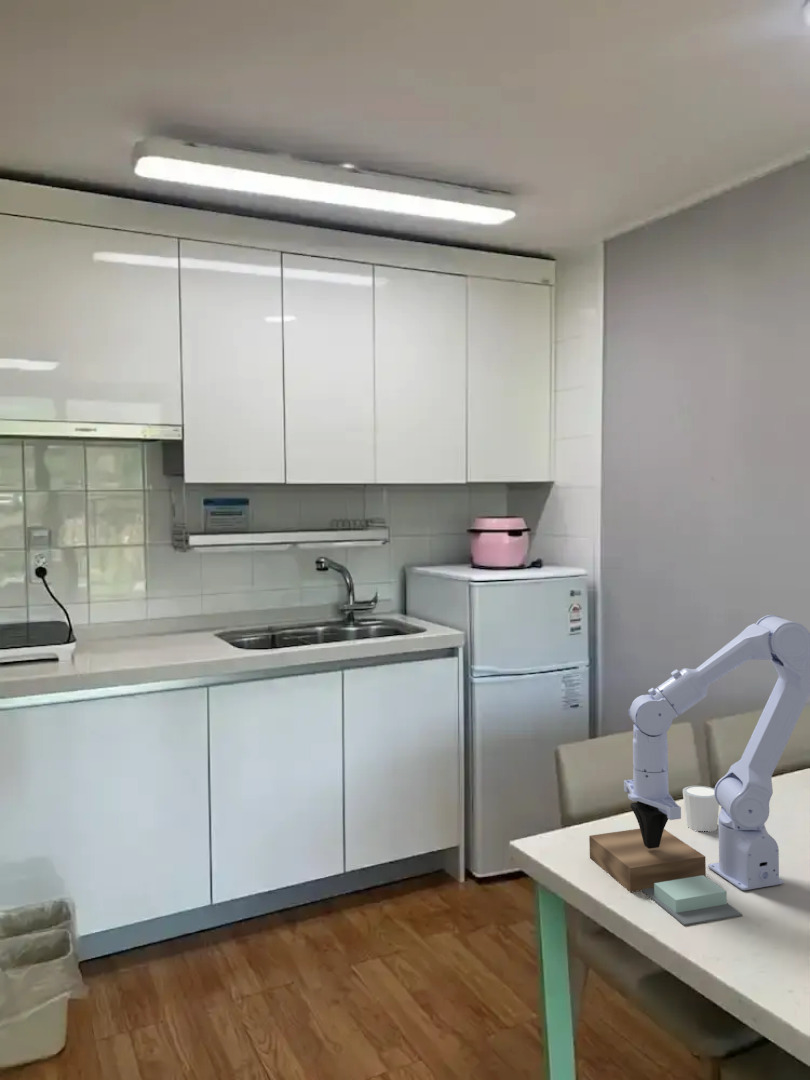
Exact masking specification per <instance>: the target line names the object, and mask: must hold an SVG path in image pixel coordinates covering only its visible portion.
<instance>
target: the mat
mask: <svg viewBox="0 0 810 1080" xmlns="http://www.w3.org/2000/svg"><path fill="white" fill-rule="evenodd" d="M641 892H642V893H644V894H645V895H646V896H648V898H650V899H651V900H652V901H653V902H654V903H655V904H657V905H658V906H659V907H660V908H661V909H663V910H664V911H666V912H667V913H668V914H669V915H670V916H672V917H673V918H674V919H675V920H676V921H678V922H679V923H680V924H681V925H683V927H686V926H692V925H698V924H703V923H708V922H710V923H711V922H715V921H720V920H725V919H730V918H737V917H743V913H742V912H740V911H739V910H738V909H737V908H735V907H733V906H732V905H731V904H729V903H728V902H727V904H724V905H718V906H713V907H707V908H701V909H696V910H690V911H684V912H679V913H675V912H674V911H673V910H672V909H670V908H669V907H668V906H667V905H666V904H664V903H663V902H662V901H661V900H659V899H658V898H657V897H656V896H654V887H653V888H647V889H642V891H641Z"/></svg>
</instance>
